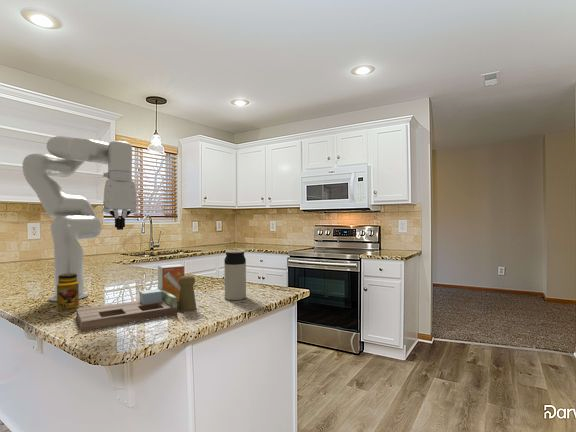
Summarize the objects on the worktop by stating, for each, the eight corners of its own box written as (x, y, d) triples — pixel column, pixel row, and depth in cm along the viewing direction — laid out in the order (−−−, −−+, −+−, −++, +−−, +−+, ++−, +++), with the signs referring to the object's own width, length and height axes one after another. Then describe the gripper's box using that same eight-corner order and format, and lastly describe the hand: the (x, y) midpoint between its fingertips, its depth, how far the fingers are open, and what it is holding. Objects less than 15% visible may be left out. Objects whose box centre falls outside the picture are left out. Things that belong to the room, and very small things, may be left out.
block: (139, 301, 118) (139, 291, 118) (158, 298, 121) (158, 288, 121) (143, 304, 114) (143, 293, 114) (162, 301, 117) (162, 291, 117)
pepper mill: (199, 307, 119) (199, 275, 119) (189, 312, 114) (189, 278, 113) (184, 306, 121) (184, 274, 121) (173, 310, 115) (173, 277, 115)
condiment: (66, 314, 112) (66, 276, 112) (46, 312, 115) (46, 275, 115) (85, 308, 119) (85, 273, 119) (66, 306, 122) (66, 272, 122)
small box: (162, 304, 123) (161, 267, 123) (157, 300, 129) (157, 265, 129) (185, 301, 128) (184, 265, 128) (179, 298, 133) (179, 263, 133)
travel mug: (232, 301, 127) (231, 252, 127) (220, 298, 133) (220, 250, 133) (250, 298, 132) (249, 250, 132) (238, 294, 138) (238, 249, 138)
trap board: (76, 317, 108) (76, 299, 108) (162, 304, 123) (162, 288, 123) (81, 331, 95) (81, 310, 95) (176, 314, 110) (176, 297, 110)
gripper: (97, 174, 115) (97, 230, 115) (145, 177, 124) (144, 229, 124) (94, 176, 121) (94, 229, 121) (140, 179, 130) (140, 228, 130)
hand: (119, 229), depth 123 cm, fingers closed
